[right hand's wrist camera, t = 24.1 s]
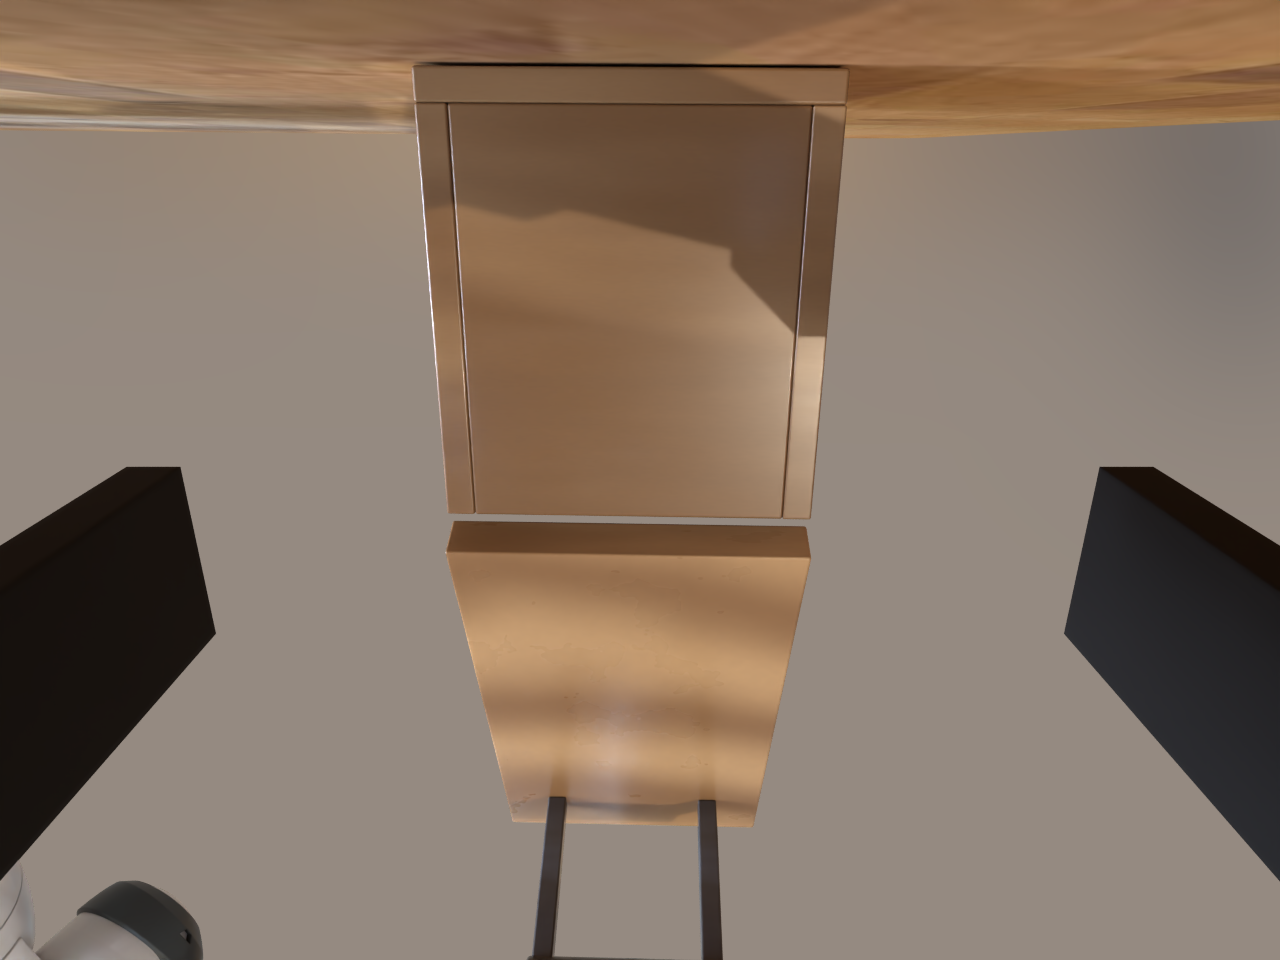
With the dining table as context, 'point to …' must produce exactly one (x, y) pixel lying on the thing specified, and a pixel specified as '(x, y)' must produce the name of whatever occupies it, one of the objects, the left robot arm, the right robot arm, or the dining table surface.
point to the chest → (630, 284)
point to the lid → (630, 677)
